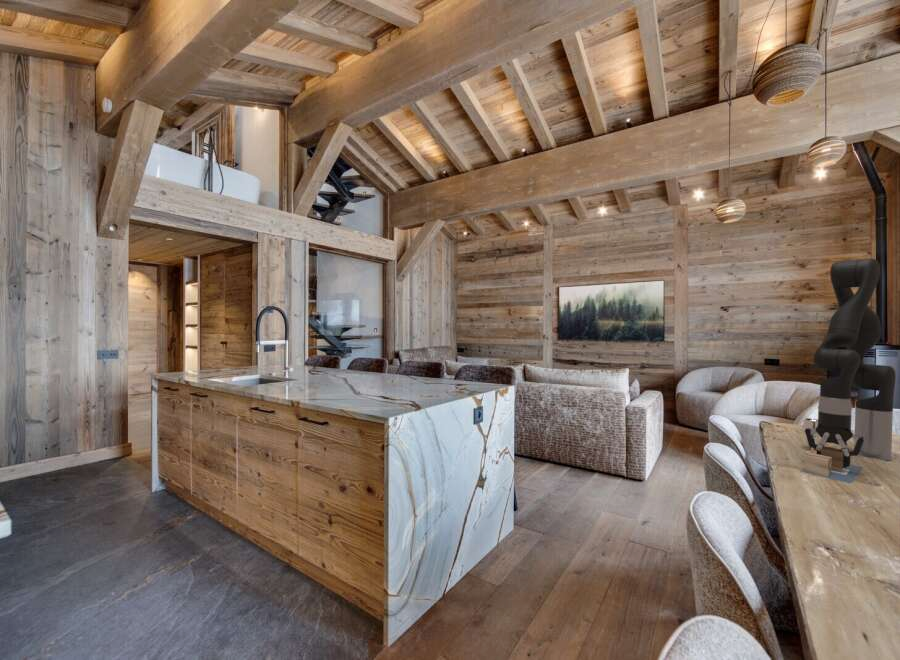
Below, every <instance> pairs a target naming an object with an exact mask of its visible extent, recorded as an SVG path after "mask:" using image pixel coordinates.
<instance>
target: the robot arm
mask: <svg viewBox="0 0 900 660" xmlns="http://www.w3.org/2000/svg"><path fill="white" fill-rule="evenodd" d="M829 270H830V271H829V274H830V282H831V284H832V289H833V292H834V294H835V297H836V301H837V304H838V309H837V310H836V311H835V312H834V313H833V315H832V317H831V318H830V321H829V325H828V329H827V331H826V332H827V333H826V335H825V337H824V339H823V340H822V342H821V344H820V345H819V346H818V348H817V349H816V351H815V352H814V355H813V357H812V358H813V359H812V360H813V361H812V362H813V364H814V366H815V367H816V368H817V369H819V370H821V371H832V372H833V371H835V372H840V374H839V375H838V376H837V377H825V378H822V379H821V380H820V384H819V385H820V386H819V388H820V389H819V401H818V406H817V409H818V412H817V413H818V414H817V420H818V426H817V427H816V428H806V429H805V433H806V434H805V433H804V434H805V436H806V440H807V444H808V447H810V448H811V447H812V448H813V449H814V450H815V451H816V454H818V455H821V448H823V447H824V446H826V444H827V443H828V444H834V445H839V447H840V449H842V451H843V452H844V459H843V467H844V468H847V466H848V467H849V466H850V465H851V457H853V456H855V457H857V456H859V457H864V458H865V457H866V458H871V459H875V460H879V461H891V460H892V448H893V447H892V445H893V444H892V442H893V439H892V438H893V414H894V413H893V412H894V397H895V386H896V371H895V368H894V367H893V366H890V365H882V364H881V365H880V364H867V363H864V358H865V356H866V355H867V354H868V353H869V351H870V350H872V348H873V347H874V346H876V344H877V343H878V342H879V341H880V340H881V337H882V334H883V333H882V327H881V321H880V318H879V315H878V314H877V313H876V312H875V311H874V310H872V309H871V308H870V307H869V305H868V304H869V303H870V301H871V299H872V297H873V294H874V291H875V289H876V287H877V284H878V282H879V279H880V274H881V267H880V262H879V261H878V260H877V259H875V258H858V259H856V258H855V259H848V260H838V261H835V262H833V263H832V265H831V267H830V269H829ZM852 288H858V289H857V291H856V292H855V294H854V291H853V289H852ZM844 346H846V348H843V349H842V348H840V347H844ZM852 386H853V387H854V388H856V389H860V390H869V391H878V393H877V395H875V396H871V397H865V398H858V399H856V400H855V404H854V405H855V406H854V407H855V410H854V433H853V432H852V409H853V408H852V400H851V399H852ZM815 432H817V433H818V434H819V437H820V438H821V439H820V441H819V442H818V443H817V444H816V442H815V437H813V435H814V434H815ZM850 439H853V450H850V448H849V445H848V441H849V440H850Z"/></svg>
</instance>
